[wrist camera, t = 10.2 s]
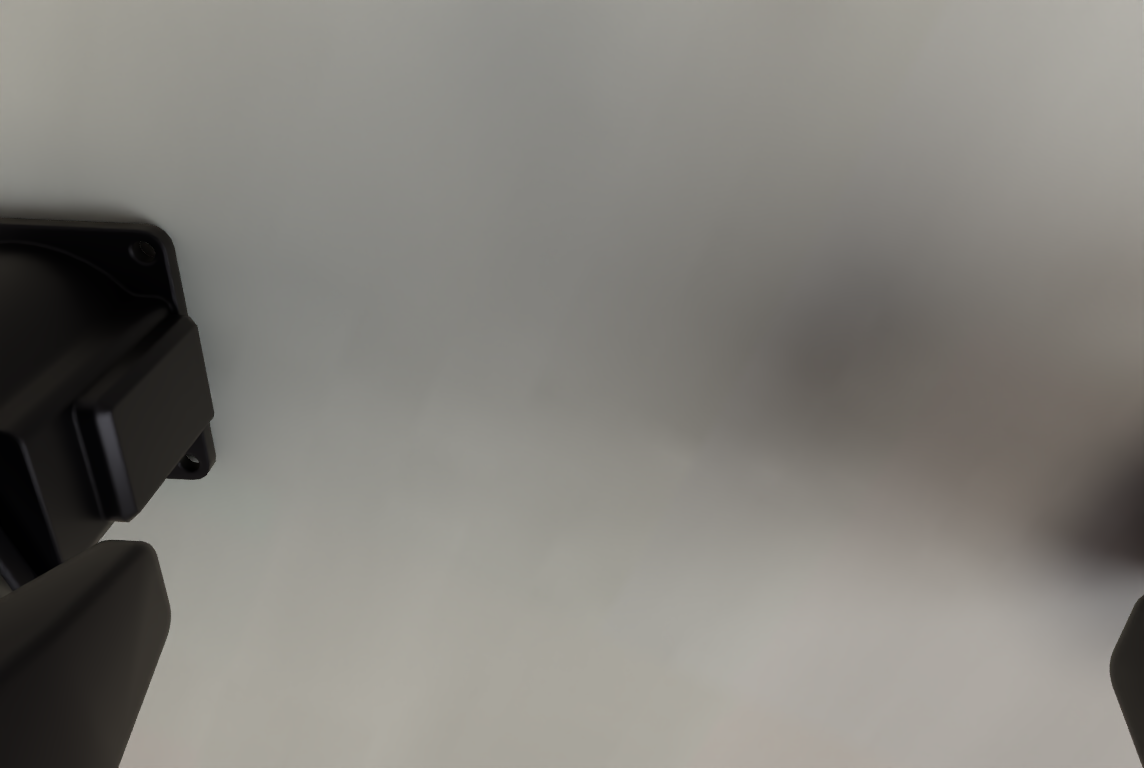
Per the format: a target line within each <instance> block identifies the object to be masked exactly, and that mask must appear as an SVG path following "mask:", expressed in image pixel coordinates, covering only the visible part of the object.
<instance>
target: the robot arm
mask: <svg viewBox="0 0 1144 768" xmlns="http://www.w3.org/2000/svg"><path fill="white" fill-rule="evenodd" d="M140 241H143V242H147V243H148V244H149V245H151V246H152V247H153V249H154V251H155V257H152V256H149V255H147V254H146V253H145V252H143V250H142V248H141V246H140ZM213 417H214V409H213V404H212V399H211V394H210V389H209V384H208V379H207V374H206V368H205V363H204V358H203V353H202V348H201V343H200V338H199V333H198V327H197V325H196V324H195V323H194V322H193V320H192V319H191V318H190V317H189V316H188V313H187V308H186V303H185V298H184V293H183V288H182V283H181V278H180V273H179V268H178V263H177V258H176V253H175V248H174V245H173V243H172V240H171V238H170V237H169V236H168V235H167V233H166V232H165V231H163V230H162V229H160V228H158V227H157V226H153V225H149V224H134V223H111V222H88V221H65V220H42V219H18V218H0V768H118V767H119V764H120V762H121V759H122V756H123V754H124V751H125V748H126V746H127V743H128V740H129V738H130V735H131V732H132V730H133V727H134V724H135V722H136V719H137V716H138V713H139V711H140V708H141V705H142V703H143V700H144V697H145V695H146V692H147V689H148V687H149V684H150V681H151V679H152V676H153V673H154V671H155V668H156V665H157V663H158V660H159V657H160V655H161V652H162V649H163V647H164V644H165V641H166V639H167V636H168V632H169V628H170V622H171V609H170V604H169V600H168V596H167V592H166V588H165V584H164V580H163V576H162V572H161V568H160V564H159V561H158V557H157V554H156V551H155V550H154V548H153V547H152V546H151V545H150V544H148V543H146V542H143V541H126V540H105V541H101V542H99V540H100V539H101V538H102V537H103V535H104V534H105V533H106V532H107V530H108V529H109V528H110V527H111V525H112V524H113V523H114V522H115V521H116V522H130V521H131V520H132V519H133V518H134V517H135V516H136V515H137V514H139V513H140V512H141V510H142V509H143V508H144V506H145V505H146V504H147V503H148V501H149V500H150V499H151V497H152V496H153V495H154V493H155V492H156V491H157V490H158V488H159V487H160V486H161V484H162V483H163V482H164V480H165V479H166V478H167V479H188V480H195V479H201V478H203V477H204V476H206V475H207V473H208V472H209V471H210V469H211V468H212V466H213V465H214V463H215V462H216V453H215V448H214V443H213V438H212V433H211V428H210V423H209V422H210V421H211V420H212V418H213ZM187 454H188V455H192V456H194V457H195V458H197V459H198V461H199V463H197V462H193V461H191V460H190V459H189V458H188V457H187ZM98 542H99V543H98ZM1110 677H1111V682H1112V686H1113V689H1114V691H1115V694H1116V697H1117V700H1118V702H1119V705H1120V708H1121V710H1122V713H1123V716H1124V718H1125V721H1126V724H1127V726H1128V729H1129V732H1130V734H1131V737H1132V740H1133V743H1134V745H1135V748H1136V751H1137V753H1138V756H1139V759H1140V761H1141V764H1142V767H1143V768H1144V595H1143V596H1142V597H1141V598H1139V599H1138V600H1137V602H1136V603H1135V605H1134V607H1133V610H1132V612H1131V614H1130V616H1129V618H1128V620H1127V622H1126V625H1125V627H1124V629H1123V631H1122V633H1121V635H1120V638H1119V640H1118V642H1117V644H1116V646H1115V648H1114V650H1113V653H1112V656H1111V660H1110Z"/></svg>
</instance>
